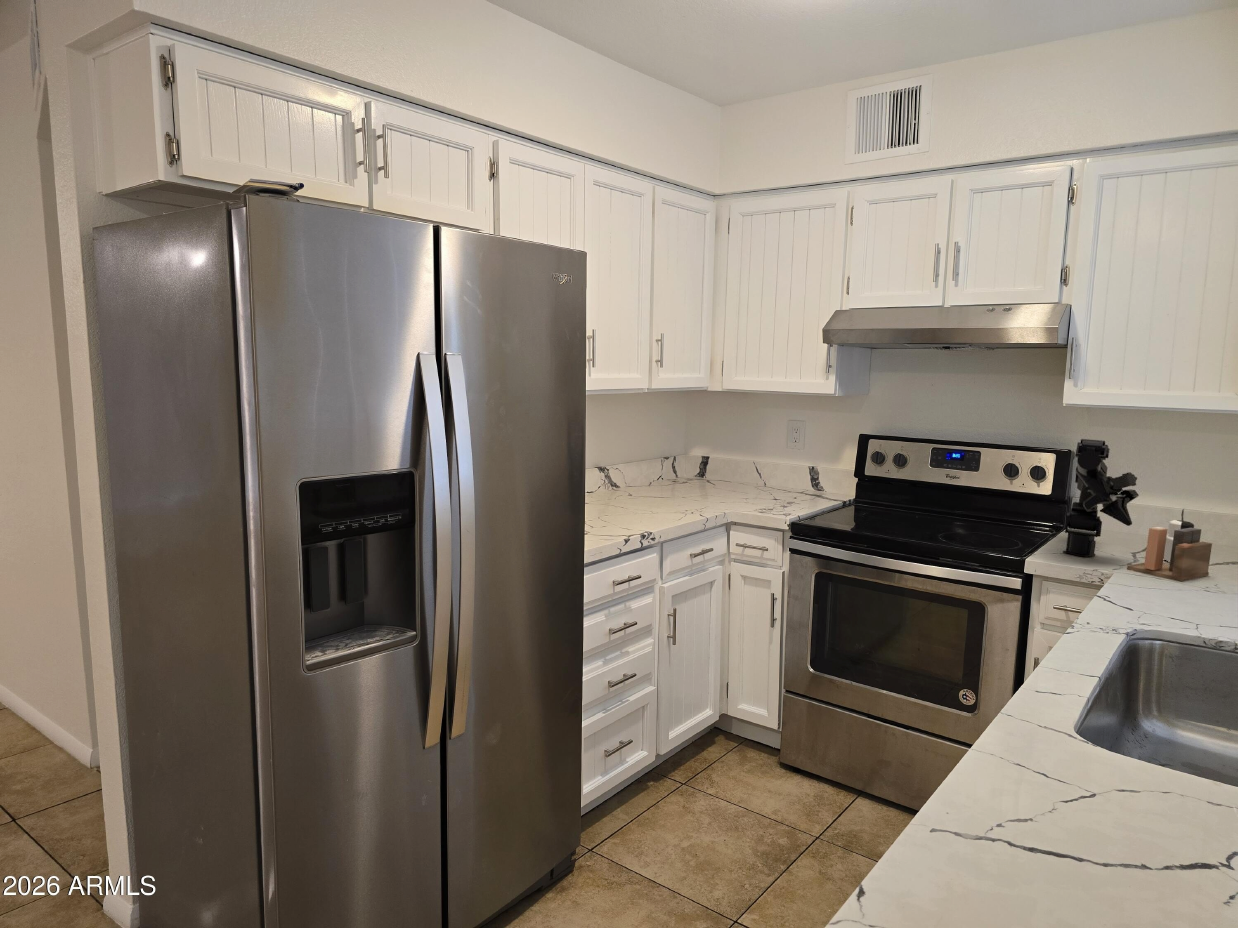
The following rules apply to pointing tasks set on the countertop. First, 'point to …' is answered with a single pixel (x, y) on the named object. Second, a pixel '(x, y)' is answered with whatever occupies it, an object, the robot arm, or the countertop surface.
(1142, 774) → the countertop surface
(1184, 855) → the countertop surface
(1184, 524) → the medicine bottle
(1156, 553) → the orange rectangular block
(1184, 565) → the brown wooden book holder
